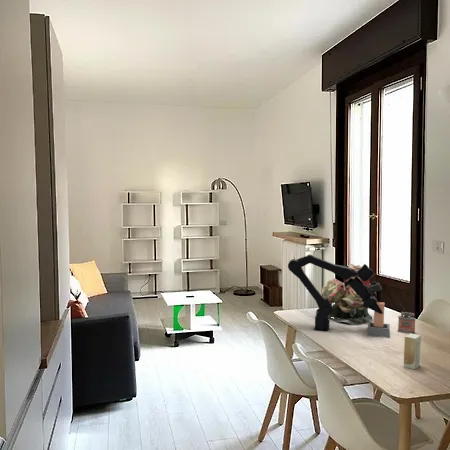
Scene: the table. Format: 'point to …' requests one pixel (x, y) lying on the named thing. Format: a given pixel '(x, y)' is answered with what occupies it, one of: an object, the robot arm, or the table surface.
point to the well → (378, 330)
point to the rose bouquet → (346, 301)
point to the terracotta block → (379, 316)
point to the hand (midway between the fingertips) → (382, 312)
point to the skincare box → (412, 351)
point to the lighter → (406, 323)
